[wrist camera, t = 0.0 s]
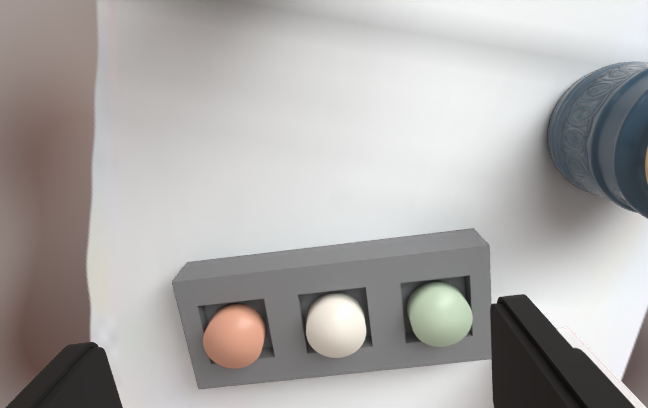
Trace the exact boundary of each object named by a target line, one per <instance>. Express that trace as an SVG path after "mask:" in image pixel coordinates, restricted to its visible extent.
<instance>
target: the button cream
mask: <svg viewBox="0 0 648 408" xmlns="http://www.w3.org/2000/svg"><path fill="white" fill-rule="evenodd" d="M306 336H307V340H308V342H309V344H310V345H311V347H312V348H313V349H314V350H315V351H317V352H318V353H320V354H321V355H324V356H326V357H331V358H341V357H346V356H349V355H351V354H353V353H354V352H356V351H357V350H358V349H359V348H360V347H361V346H362V344H363V342H364V340H365V337H366V325H365V318H364V312H363V309H362V307H361V305H360V303H359V302H358V301H357V300H356V299H355V298H353V297H352V296H350V295H348V294H345V293H341V292H330V293H326V294H324V295H321V296H320V297H318V298H317V299H316V300H315V301H314V302H313V303H312V304H311V306H310V308H309V310H308V315H307V325H306Z"/></svg>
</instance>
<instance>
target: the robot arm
mask: <svg viewBox="0 0 648 408" xmlns="http://www.w3.org/2000/svg"><path fill="white" fill-rule="evenodd" d="M490 322H491V353H492V383H493V403H494V408H635V407H634V405H633V404H632V403H631V402H630V401H629V400H628V399H627V398H626V397H625V396H624V395H623V394H622V392H621V391H620V390H619V389H618V388H617V387H616V386H615V385H614V384H613V383H612V382H611V381H610V379H609V378H608V377H607V376H606V375H605V374H604V373H603V372H602V371H601V370H600V369H599V368H598V366H597V365H596V364H595V363H594V362H593V361H592V360H591V359H590V358H589V357H588V356H587V355H586V353H584V352H583V351H582V350H581V349H579V348H573V347H572V346H571V345H570V344H569V343H568V341H567V340H566V339H565V338H564V337H563V336H562V335H561V334H560V333H559V331H558V330H557V329H556V328H555V327H554V326H553V325H552V324H551V323H550V321H549V320H548V319H547V318H546V317H545V316H544V315H543V314H542V313H541V311H540V310H539V309H538V308H537V307H536V306H535V305H534V304H533V303H532V301H531V300H530V299H529V298H528V297H527V296H526V295H525V294H522V295H513V296H504V297H499V298H498V301H497V304H491V307H490ZM6 408H123V407H122V404H121V401H120V398H119V394H118V391H117V388H116V385H115V381H114V378H113V375H112V372H111V368H110V365H109V362H108V359H107V355H106V352H105V350H104V349H103V348H101V347H98V345H97V344H96V343H94V342H88V343H79V344H71V345H68V346H66V347H65V348H64V349H63V350H62V351H61V352H60V353H59V354H58V355H57V356H56V357H55V358H54V359H53V360H52V361H51V362H50V363H49V364H48V365H47V366H46V367H45V368H44V369H43V370H42V371H41V372H40V373H39V374H38V375H37V376H36V377H35V378H34V379H33V380H32V381H31V382H30V383H29V384H28V385H27V386H26V387H25V388H24V389H23V390H22V391H21V392H20V394H19V395H17V396H16V398H15V399H14V400H13V401H12V402H11V403H10V404H9V405H8V406H7V407H6Z"/></svg>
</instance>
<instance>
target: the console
mask: <svg viewBox="0 0 648 408" xmlns="http://www.w3.org/2000/svg"><path fill="white" fill-rule="evenodd" d="M430 281H445V282H448V283H451V284H453V285H454V286H456V287H457V288H458V289H459V290H460V292H461V293H462V295H463V297H464V298H465V300H466V302H467V303H468V305H469V306H470V309H471V311H472V316H473V321H472V325H471V328H470V330H469V332H468V333H467V335H466V336H465V337H464V338H463V339H462V340H460V341H459V342H457V343H455V344H453V345H450V346H446V347H434V346H430V345H427V344H425V343H423V342H422V341H421V340H419V339H418V338H417V336H416V335H415V333H414V331H413V329H412V326H411V323H410V320H409V317H408V313H407V302H408V299H409V297H410V295H411V294H412V292H413V291H414V290H415V289H416V288H417V287H419V286H420V285H422V284H424V283H426V282H430ZM172 284H173V288H174V292H175V296H176V300H177V305H178V309H179V313H180V317H181V321H182V325H183V329H184V333H185V337H186V341H187V345H188V349H189V353H190V357H191V361H192V365H193V369H194V373H195V377H196V381H197V385H198V389H206V388H216V387H225V386H235V385H245V384H254V383H264V382H274V381H283V380H293V379H303V378H312V377H322V376H332V375H341V374H351V373H361V372H371V371H380V370H390V369H400V368H409V367H419V366H429V365H438V364H448V363H458V362H467V361H477V360H487V359H492V353H491V322H490V307H491V280H490V249H489V244H488V243H487V242H486V241H485V240H484V239H483V238H482V237H481V236H480V235H479V234H478V233H477V232H476V231H475V229H474V228H473V229H465V230H456V231H448V232H439V233H431V234H423V235H414V236H406V237H397V238H389V239H380V240H372V241H363V242H355V243H346V244H338V245H329V246H321V247H313V248H304V249H296V250H287V251H279V252H270V253H262V254H253V255H245V256H236V257H228V258H219V259H211V260H202V261H194V262H187V263H186V265H185V266H184V267H183V268H182V270H181V271H180V272H179V274H178V275H177V276H176V277H175V279H174V280H173V281H172ZM330 292H341V293H345V294H348V295H350V296H352V297H353V298H355V299H356V300H357V301H358V302H359V303H360V305H361V307H362V309H363V312H364V318H365V325H366V337H365V340H364V342H363V344H362V346H361V347H360V348H359V349H358V350H357V351H356V352H354V353H353V354H351V355H349V356H346V357H341V358H331V357H326V356H324V355H321V354H320V353H318V352H317V351H315V350H314V349H313V348H312V347H311V345H310V344H309V342H308V340H307V336H306V325H307V315H308V310H309V308H310V306H311V304H312V303H313V302H314V301H315V300H316V299H317V298H318V297H320V296H321V295H324V294H326V293H330ZM232 303H241V304H245V305H248V306H250V307H252V308H254V309H255V310H257V311H258V312H259V313H260V314H261V316H262V317H263V319H264V321H265V324H266V335H265V339H264V343H263V347H262V351H261V353H260V355H259V357H258V358H257V359H256V361H255V362H253V363H252V364H250V365H249V366H246V367H243V368H238V369H232V368H226V367H223V366H220V365H218V364H217V363H215V362H214V361H213V360H211V359H210V357H209V356H208V355H207V353H206V351H205V349H204V346H203V336H204V333H205V331H206V329H207V327H208V325H209V323H210V321H211V318H212V316H213V315H214V313H215V312H216V311H217V310H218V309H219V308H221V307H223V306H225V305H228V304H232Z"/></svg>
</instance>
